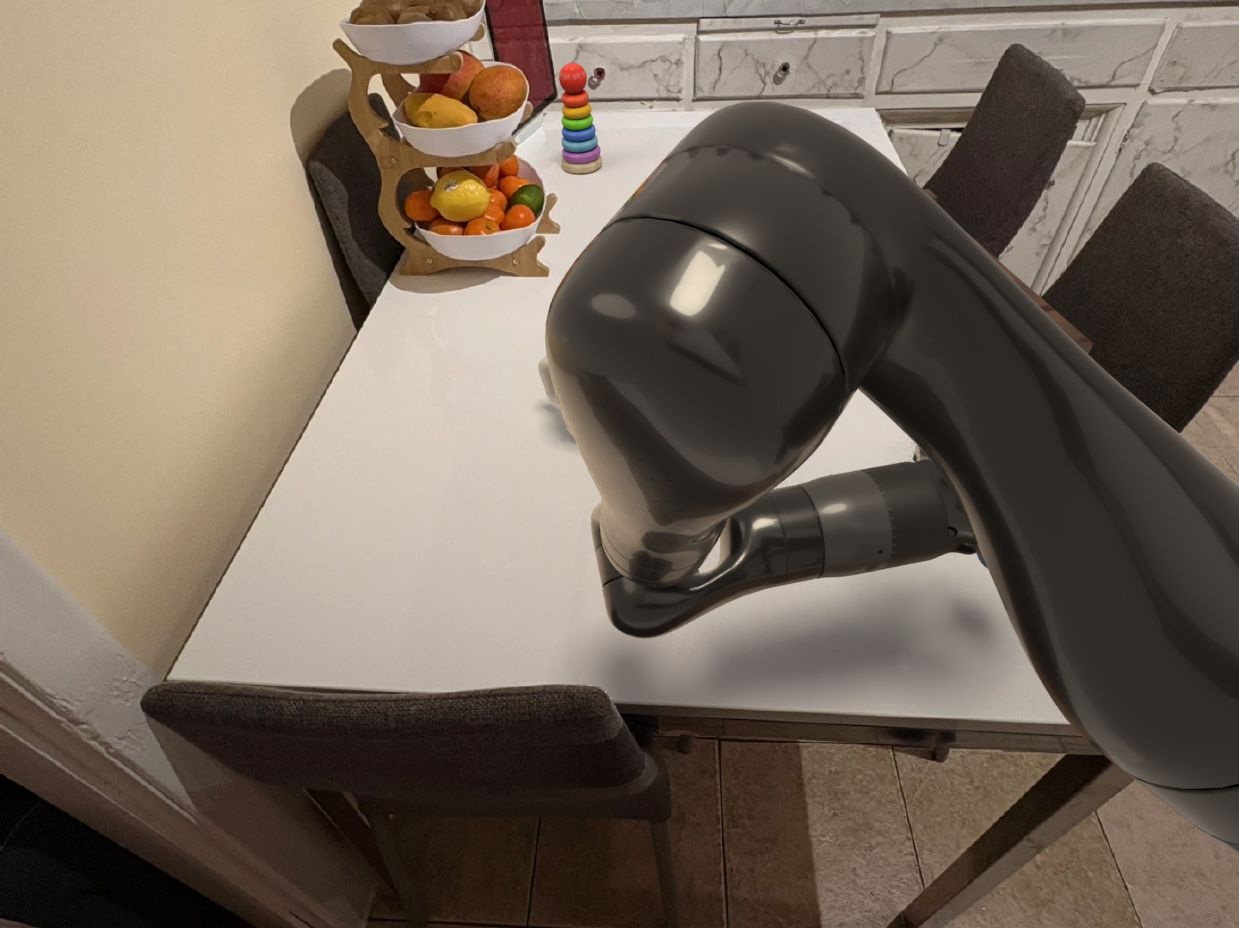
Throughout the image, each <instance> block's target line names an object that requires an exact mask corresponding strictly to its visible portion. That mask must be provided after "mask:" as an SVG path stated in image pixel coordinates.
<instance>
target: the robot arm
mask: <svg viewBox="0 0 1239 928" xmlns="http://www.w3.org/2000/svg"><path fill="white" fill-rule="evenodd" d="M974 239H975V238H973V237H972V236H971V235H970V234H969V233H968V232H967V231H966V230H965V229H964V228H963V227H962V226H961V225H960V224H959V223H957V221H956V220H954V218H953V217H952V216H951V215H950V214H949V213H947V211H945V209H944V208H943V207H941V205H940V204H938V202H937V203H936V202H935V201H934V200H933V199H932V198H931V197H930V196H929V195H928V194H927V193H926V192H925V191H924V189H923V188H922V187H921V186H920V185H919V184H917V183H916V182H915V181H914V179H912V178H911V177H910V176H909V175H908V174H906V172H904V171H903V170H902V169H901V168H900V167H899V166H897V164H895V163H894V162H893V161H892V160H891V159H890V158H888V157H887V156H886V155H885V154H884V153H882V152H881V151H879V150H878V149H877V148H875V147H874V146H873V145H871V144H870V142H867V141H866V140H865V139H863V138H862V137H860V136H859V135H858V134H856V133H854V132H852V131H851V130H849V129H848V128H846V127H844V126H843V125H841V124H839V123H837V122H835V121H833V120H831V119H828V118H826V117H825V116H822V115H821V114H818V113H816V112H814V111H811V110H809V109H807V108H802V107H798V106H795V105H791V104H786V103H782V102H777V101H773V100H771V101H769V100H768V101H761V100H760V101H741V102H737V103H734V104H731V105H727V106H724V107H722V108H720V109H717V110H715V111H714V112H712V113H711V114H709V115H708V116H706V117H704V119H702V120H701V121H700V122H699V123H698V124H696V125H695V126H694V127H693V128H692V129H691V130H690V131H689V132H688V133H687V134H686V135H685V136H684V137H683V138H682V139H681V140H680V141H679V142H678V143H677V144H676V145H675V147H673V149H672V150H671V151H669V153H668V154H667V155H666V156H665V157H664V158H663V159H662V160H661V162H660V163H659V164H658V166H656V168H654V169H653V171H652V172H651V174H649V175H648V177H647V178H645V180H643V182H642V183H641V184H640V186H639V187H638V188H637V189H636V190H635V191H634V192H633V193H632V195H631V196H630V197H629V198H628V199H627V201H626V202H625V203H624V204H623V205H622V206H621V207H620V208H619V209H618V210H617V211H616V213H615V214H614V215H612V217H611V218H610V220H609V221H608V222H607V223H606V224H605V225H604V226H603V227H602V229H601V230H600V231H599V232H598V233H597V234H596V235H595V236H594V238H593V239H592V240H591V241H590V242H589V243H588V244H587V246H585V248H584V249H583V250H582V251H581V253H580V254H579V255H578V256H577V258H575V260H574V262H573V263H572V264H571V266H570V267H569V268H568V270H567V271H566V273H565V274H564V276H563V278H562V279H561V281H560V282H559V284H558V286H557V287H556V289H555V292H554V294H553V296H552V298H551V301H550V303H549V307H548V311H547V314H546V319H545V329H544V344H545V354H546V356H547V361H548V366H549V371H550V375H551V379H552V382H553V386H554V389H555V392H556V395H557V398H558V400H559V403H560V406H561V408H562V411H563V413H564V416H565V418H566V420H567V423H568V425H569V427H570V430H571V432H572V434H573V436H572V438H573V439H574V441H575V443H576V447H577V448H578V451H579V453H580V455H581V458H582V460H583V462H584V464H585V466H586V468H587V471H588V473H589V476H590V477H591V479H592V480H593V483H594V485H595V487H596V489H597V491H598V494H599V495H600V503H598V504H597V505H596V506H595V507H594V509H592V512H591V515H590V529H591V530H590V531H591V537H592V542H593V548H594V553H595V559H596V563H597V568H598V574H599V578H600V584H601V588H602V589H601V590H602V595H603V600H604V605H605V611H606V614H607V617H608V620H609V622H610V624H611V626H612V627H614V628H615V629H616V630H617V631H618V632H620V633H622V634H624V635H626V636H628V637H633V638H636V639H647V640H648V639H655V638H660V637H663V636H665V635H668V634H670V633H672V632H675V631H677V630H679V629H681V628H683V627H685V626H686V625H689V624H690V623H692V622H694V621H696V620H697V619H699V618H702V617H703V616H705V615H707V614H709V613H711V612H713V611H715V610H716V609H718V608H720V607H722V606H724V605H726V604H730V603H731V602H733V601H735V600H738V599H741V598H743V597H746V596H749V595H751V594H755V593H757V592H761V591H765V590H768V589H773V588H777V587H778V588H779V587H783V586H787V585H793V584H797V583H803V582H808V581H813V580H819V579H827V578H829V579H830V578H844V577H851V576H857V575H861V574H867V573H872V572H873V573H874V572H877V571H882V570H887V569H888V570H889V569H893V568H897V567H903V566H908V565H913V564H917V563H918V564H919V563H922V562H927V561H932V560H935V559H937V558H939V557H942V556H944V555H947V554H952V553H953V554H961V555H967V556H970V555H977V554H978V555H979V556H981V557H982V558H984V560H985V563H986V565H987V567H988V569H987V570H988V572H989V575H990V576H991V579H992V581H993V584H994V586H995V588H996V591H997V593H998V595H999V598H1000V600H1001V603H1002V605H1003V607H1004V610H1005V612H1006V614H1007V617H1008V619H1009V621H1010V624H1011V626H1012V629H1013V631H1014V633H1015V634H1016V637H1017V639H1018V641H1019V643H1020V645H1021V648H1022V649H1023V652H1024V654H1025V656H1026V658H1027V660H1028V661H1029V663H1030V665H1031V668H1032V669H1033V671H1034V673H1035V675H1036V676H1037V678H1038V679H1039V681H1040V683H1041V684H1042V686H1043V688H1044V689H1045V691H1046V692H1047V694H1048V695H1049V697H1050V698H1051V700H1052V702H1053V703H1054V705H1055V706H1056V707H1057V709H1058V710H1059V712H1060V713H1061V715H1062V716H1063V717H1064V719H1065V720H1066V721H1067V722H1068V723H1069V725H1070V726H1072V728H1073V729H1075V731H1076V732H1077V733H1078V734H1079V735H1080V736H1082V738H1083V739H1085V741H1086V742H1088V743H1089V744H1090V745H1091V746H1092V747H1093V748H1094V749H1095V750H1097V751H1098V752H1099V753H1101V754H1102V755H1103V756H1104V757H1105V758H1106V759H1107V760H1109V761H1110V762H1111V763H1113V764H1114V766H1116V767H1118V768H1119V769H1120V770H1121V771H1122V772H1124V773H1125V774H1127V775H1128V776H1129V777H1130V778H1132V779H1133V780H1134V781H1135V782H1137V783H1138V784H1139V785H1140V786H1142V787H1143V788H1145V789H1146V790H1147V791H1149V793H1151V794H1152V795H1154V796H1155V797H1156V798H1158V799H1159V800H1160V801H1161V802H1162V803H1164V804H1165V805H1167V806H1168V807H1169V808H1171V809H1172V810H1173V811H1175V813H1177V814H1178V815H1180V816H1181V817H1182V818H1183V819H1185V820H1186V821H1188V822H1189V823H1190V824H1191V825H1192V826H1194V827H1196V829H1199V830H1200V831H1201V832H1203V833H1204V834H1206V835H1207V836H1209V837H1210V838H1212V840H1214V841H1216V842H1217V843H1219V844H1220V845H1222V846H1223V847H1225V848H1226V849H1227V850H1229V851H1231V853H1234V854H1235V855H1236V856H1238V857H1239V483H1237V481H1235V480H1234V479H1233V478H1231V476H1229V475H1228V474H1227V473H1226V472H1225V471H1224V470H1222V469H1221V468H1220V467H1219V466H1218V465H1216V464H1215V463H1214V461H1212V460H1211V459H1210V458H1209V457H1207V456H1206V455H1205V454H1204V453H1202V452H1201V450H1199V449H1198V448H1197V447H1196V446H1194V445H1193V444H1192V443H1191V442H1190V441H1188V439H1186V438H1185V437H1184V436H1183V435H1181V434H1180V433H1179V432H1178V431H1177V430H1175V429H1174V428H1173V426H1171V425H1170V424H1169V423H1167V422H1166V421H1165V420H1164V419H1163V418H1161V417H1160V416H1159V414H1157V413H1155V412H1154V411H1153V410H1152V409H1151V408H1149V406H1147V405H1146V404H1145V403H1143V402H1142V401H1141V400H1140V399H1139V398H1138V397H1136V396H1135V395H1134V394H1133V393H1132V392H1131V391H1130V390H1128V389H1127V388H1126V386H1124V385H1122V383H1120V382H1119V381H1118V380H1117V379H1116V378H1115V377H1113V376H1112V375H1111V374H1110V373H1109V372H1108V371H1106V370H1105V368H1103V367H1102V366H1101V365H1100V364H1099V363H1098V362H1097V361H1096V360H1094V359H1093V357H1091V355H1089V353H1088V354H1087V353H1086V352H1085V351H1084V350H1083V349H1082V348H1081V347H1080V346H1079V345H1078V344H1077V343H1076V342H1075V341H1074V340H1073V339H1072V338H1071V337H1070V336H1069V335H1068V334H1067V333H1066V332H1065V331H1064V330H1063V329H1062V328H1061V327H1060V326H1059V325H1058V324H1057V323H1056V322H1055V321H1054V320H1053V319H1052V318H1051V317H1050V316H1049V315H1048V314H1047V313H1046V312H1045V311H1044V310H1043V309H1042V308H1041V307H1040V306H1039V305H1038V304H1037V303H1036V302H1035V301H1034V300H1033V299H1032V298H1031V297H1030V296H1029V295H1028V294H1027V293H1026V292H1025V291H1024V290H1023V289H1022V288H1021V287H1020V286H1019V285H1018V284H1017V283H1016V282H1015V281H1014V280H1013V279H1012V278H1011V277H1010V276H1009V275H1008V274H1007V273H1006V272H1005V271H1004V270H1003V269H1002V268H1001V267H1000V266H999V265H998V264H997V263H996V262H995V261H994V260H993V259H992V258H991V257H990V256H989V255H988V254H987V253H986V252H985V251H984V250H983V249H982V248H981V247H980V246H979V245H978V244H977V243H976V242H975V240H976V239H975V240H974ZM857 391H859V392H860V393H862V394H863V395H864V396H865V397H866V398H868V400H870V401H871V403H873V404H874V405H875V406H876V407H877V408H878V409H879V410H880V411H881V412H882V413H884V414H885V415H886V416H887V418H889V419H890V420H891V421H892V422H893V423H894V424H895V425H896V426H897V427H898V428H899V429H901V430H902V431H903V433H905V435H907V436H908V437H909V438H910V440H912V441H913V442H914V444H915V445H916V446H915V449H914V451H913V452H914V453H913V456H912V461H901V462H896V463H890V464H884V465H879V466H872V467H867V468H862V469H856V470H851V471H846V472H841V473H840V472H839V473H835V474H829V475H823V476H821V477H818V478H815V479H812V480H808V481H805V482H802V483H797V484H795V485H793V484H792V485H788V486H783V487H778V486H779V485H781V484H782V483H783V482H784V481H786V479H788V478H789V477H790V476H791V475H793V474H794V473H795V472H796V471H797V470H798V469H799V468H800V467H802V465H803V464H805V463H806V462H807V461H808V460H809V459H810V458H811V457H812V456H813V454H814V453H815V452H816V451H817V450H818V449H819V447H820V446H821V445H822V444H823V442H824V441H825V440H826V438H827V437H828V436H829V434H830V433H831V431H832V430H833V428H834V426H835V424H836V423H837V422H838V420H839V418H840V417H841V416H842V414H843V413H844V411H845V410H846V408H847V406H848V405H849V403H850V402H851V400H852V399H853V397H854V395H855V394H856V392H857ZM776 487H777V488H776ZM718 541H719V557H718V562H717V565H716V566H715V567H714V568H712V569H710V570H708V571H704V572H701V571H700V568H701V567H702V566H703V564H704V563H705V561H707V559H708V557H709V556H710V554H711V552H712V551H713V549H714V548H715V546H716V544H717V543H718ZM976 553H977V554H976Z"/></svg>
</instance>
